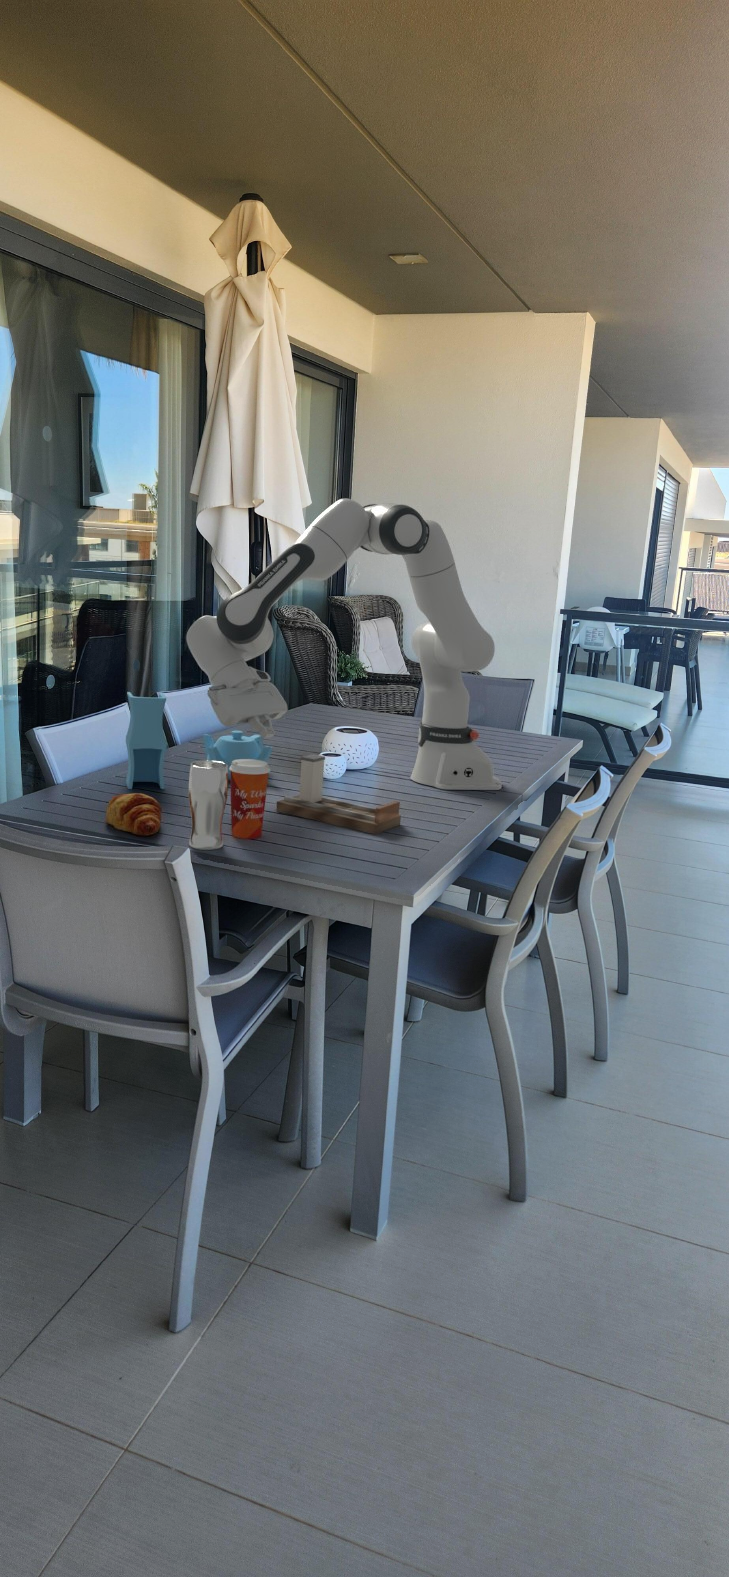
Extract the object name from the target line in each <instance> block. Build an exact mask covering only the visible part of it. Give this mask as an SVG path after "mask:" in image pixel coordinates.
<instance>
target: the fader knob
mask: <svg viewBox="0 0 729 1577" xmlns="http://www.w3.org/2000/svg"><path fill="white" fill-rule="evenodd" d="M300 760H301V764H300V780H299V793H298V795H299V799H300V800H305V801H309V802H313V803H315V802H318V801H321V800H322V797H323V782H324V770H325V760H326V756H324V755H320V754H314V753H312V754H307V755H303V756H301V757H300Z"/></svg>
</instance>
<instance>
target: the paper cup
mask: <svg viewBox="0 0 729 1577" xmlns="http://www.w3.org/2000/svg"><path fill="white" fill-rule="evenodd" d="M229 770H230V771H231V781H230V813H231V814H230V819H231V820H230V822H231V825H230V826H231V828H230V829H231V835H232V837H234V838H236V839H243V840H255V839H258V838H260V837H261V836H262V830H263V824H264V816H265V808H266V799H267V797H266V796H267V791H268V790H267V789H268V782H269V781H268V779H269V773H271V770H272V769H270V765H269V764H268V762H264V761H261V760H254V759H238V760H234V761H232V763H231V766H230V767H229Z"/></svg>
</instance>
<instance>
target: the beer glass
mask: <svg viewBox="0 0 729 1577" xmlns="http://www.w3.org/2000/svg"><path fill="white" fill-rule="evenodd" d="M188 776H189V777H188V803H189V810H190V816H191V831H190V832H191V833H190V837H189V841H188V845H189V846H190V848H192V849H196V850H201V851H202V850H203V851H214V850H218V849H221V848H222V847H223V846H224V841H223V832H222V825H223V819H224V815H225V814H224V813H225V810H226V804H227V800H228V792H229V781H228V765H227V764H226V763H223V762H219V761H208V760H207V759H206V760H194V761H191V763H190V769H189V774H188Z"/></svg>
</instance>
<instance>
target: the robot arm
mask: <svg viewBox="0 0 729 1577" xmlns="http://www.w3.org/2000/svg"><path fill="white" fill-rule="evenodd" d="M359 548H361V549H362V550H364V551H366V552H371V553H372V552H373V553H375V554H380V555H397V556H401V557H402V558H403V559H404V562H405V565H406V570H407V574H408V577H409V581H410V585H411V588H412V592H413V596H414V599H415V603H416V606H417V607H418V609H419V611H420V612H421V613H422V614H423V615H424V616H425V618H427V620H428V621H425V622H422V623H420V624H419V625H418V626H417V627H416V628H415V630H414V632H413V634H412V637H411V646H412V650H413V652H414V653H415V655H416V657H417V659H418V661H419V666H420V671H421V675H422V681H423V706H422V707H423V709H422V718H421V719H422V720H421V722H420V724H419V728H418V737H417V739H418V740H417V743H418V751H417V755H416V760H415V763H414V767H413V769H412V773H411V775H410V779H411V780H412V781H413V782H415V783H419V784H421V785H425V786H431V787H435V788H437V789H439V790H449V791H450V790H452V791H453V790H461V791H463V790H464V791H466V790H467V791H471V790H473V791H499V790H502V785H503V784H502V781H501V780H500V779H499V778H498V777H496V776H495V775H494V774H495V773H494V772H495V770H494V764H493V760H492V759H491V758H490V757H489V756H488V755H487V754H486V753H485V751H483V750H482V749H481V748H480V747H479V746H478V745H477V744H476V743H474V742H473V741H475V740H478V738H480V734H479V732H478V731H477V730H474V729H473V728H471V727H469V726H468V721H469V720H468V719H469V710H470V702H471V699H470V698H471V697H470V696H471V695H470V693H469V691H468V689H467V687H466V686H465V683H464V680H463V676H462V672H466V673H469V672H478V671H482V670H484V669H486V667H488V666H490V663H492V661H493V658H494V657H495V656H494V655H495V651H496V648H495V642H494V640H493V637H492V636H491V635H490V633H489V632H488V631H486V630H485V629H484V627H483V626H482V625H481V624H480V622H479V621H478V619H477V617H476V616H475V613H474V612H473V610H472V608H471V606H470V605H469V603H468V600H467V598H466V597H465V594H464V591H463V588H462V583H461V581H460V578H459V574H458V570H457V566H456V563H455V559H454V555H453V551H452V549H451V546H450V543H449V541H448V539H447V536H446V534H445V532H444V530H443V528H442V526H441V524H439V523H438V522H437V521H434V520H429V519H424V518H423V516H422V515H421V514H420V513H419V512H418V510H416V509H414V508H413V507H412V506H409V505H406V504H397V503H392V502H391V503H389V502H384V503H381V504H376V503H372V504H367V505H364V506H362V505H361V504H360V503H359V502H358V501H355V500H353V499H351V498H345V497H344V498H340V499H337V500H336V501H334V503H332V504H331V505H330V506H328V507H327V508H326V509H325V510H323V512H321V513H320V514H319V515H318V516H317V517H316V518H315V519H314V520H313V521H312V522H311V523H310V525H308V527H307V528H306V529H305V530H304V531H303V532H302V533H301V534H300V535H299V537H298V538H297V539H296V540H295V541H294V542H293V543H292V544H291V545H290V546H289V547H288V548H286V549H285V550H284V551H283V552H281V554H279V555H278V556H277V557H276V558H275V559H274V560H273V561H272V562H271V563H270V564H269V565H268V566H267V567H266V568H264V570H263V571H262V572H261V573H260V574H259V575H258V576H257V577H255V579H254V580H253V581H252V582H250V583H249V584H248V585H246V586H245V587H244V588H242V589H240V590H238V591H236V592H234V593H232V594H231V595H229V596H227V597H226V598H225V599H224V600H223V601H222V602H221V603H220V604H219V607H218V609H217V612H216V615H215V616H214V615H213V616H212V615H207V614H206V615H203V616H201V617H199V618H198V619H196V620H195V621H194V622H193V623H192V624H191V625H190V627H189V629H188V631H187V633H186V637H185V639H186V644H187V646H188V649H189V651H190V653H191V655H192V657H193V658H194V660H195V661H196V663H197V665H198V666H199V668H200V669H201V670H202V671H203V672H204V673H205V674H206V676H208V680H209V683H210V685H211V686H209V687H208V689H207V693H206V694H207V697H208V698H209V699H210V704H211V708H212V710H213V712H214V713H215V715H216V717H217V719H218V721H219V723H220V724H221V725H223V726H224V727H226V728H227V727H235V726H241V725H246V724H247V725H249V727H250V728H252V729H253V730H254V731H255V732H256V733H257V734H258V735H260V736H261V737H262V739H268V738H273V737H274V736H275V734H276V731H275V729H274V727H273V725H272V724H273V722H272V720H278V719H281V717H283V716H284V715H285V714H286V713H287V712H288V704H287V702H286V700H285V698H284V697H283V696H282V694H281V692H280V691H279V690H278V688H277V687H276V685H274V684H273V683H272V682H270V681H271V680H272V679H271V675H269V673H268V672H266V671H263V670H259V669H256V668H254V667H252V666H248V664H247V662H249V661H251V660H253V659H256V658H258V657H260V656H262V655H263V654H265V653H266V652H268V650H269V649H270V648H271V647H272V645H273V642H274V640H275V633H274V632H275V631H274V628H273V626H272V624H271V621H270V620H269V618H268V617H269V612H270V610H271V609H272V607H273V606H274V605H275V604H276V603H277V602H278V601H279V600H280V599H281V598H282V597H283V595H285V594H286V593H287V592H288V591H289V590H290V589H291V588H292V587H293V586H294V585H295V584H296V583H298V582H300V581H302V580H309V581H311V582H324V581H327V580H329V578H330V577H332V576H333V575H334V574H336V573H337V572H338V571H339V570H340V569H341V568H342V567H343V566H344V565H345V563H346V562H347V561H348V560H349V559H350V557H351V556H352V555H353V553H354V552H355V551H356V550H358V549H359Z"/></svg>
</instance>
